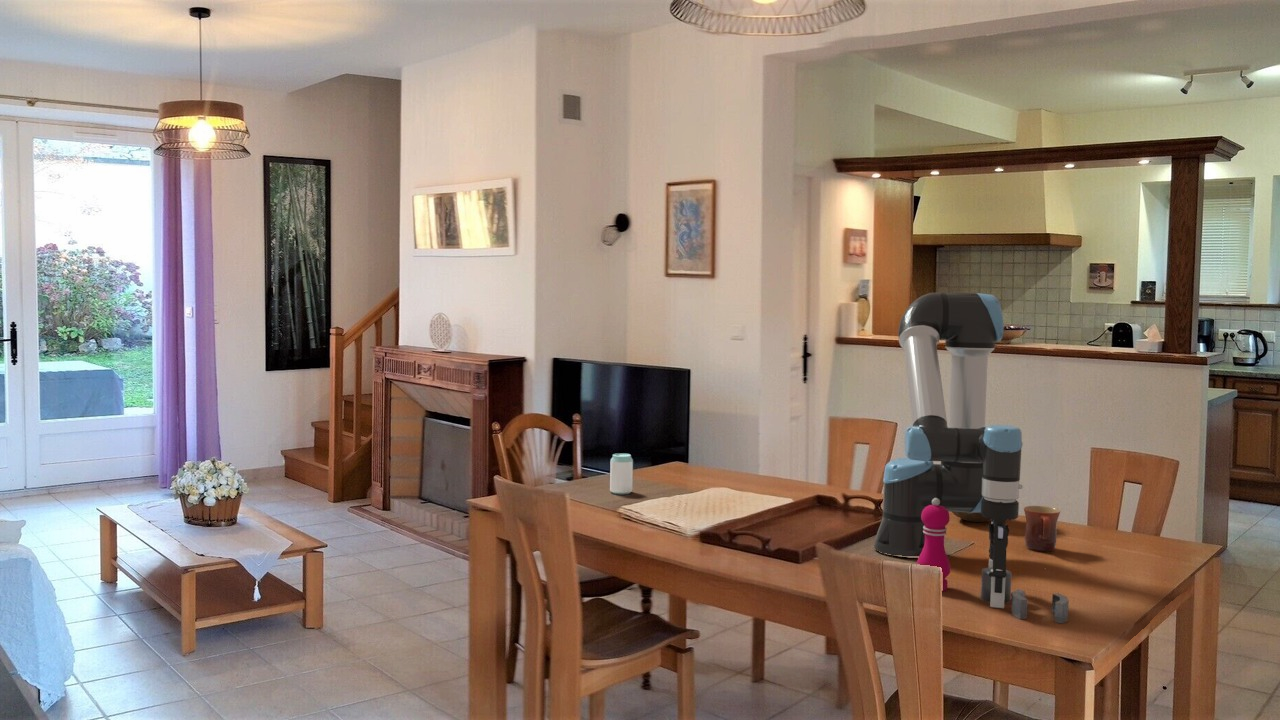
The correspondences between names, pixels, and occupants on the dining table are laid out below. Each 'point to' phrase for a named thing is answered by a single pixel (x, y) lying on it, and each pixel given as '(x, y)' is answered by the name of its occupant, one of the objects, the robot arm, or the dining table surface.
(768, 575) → the dining table surface
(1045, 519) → the mug
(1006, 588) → the cap
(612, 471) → the can
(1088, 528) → the dining table surface
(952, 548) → the dining table surface
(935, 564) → the pepper mill
